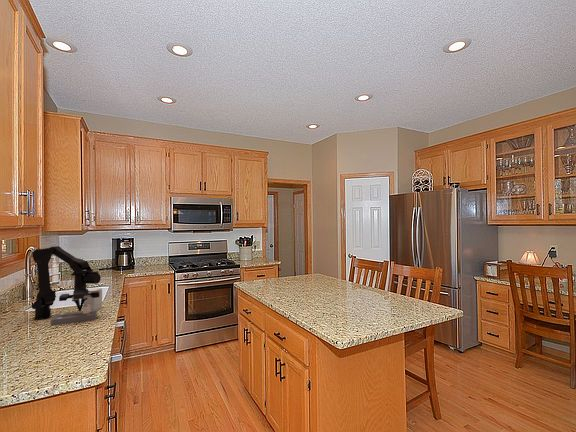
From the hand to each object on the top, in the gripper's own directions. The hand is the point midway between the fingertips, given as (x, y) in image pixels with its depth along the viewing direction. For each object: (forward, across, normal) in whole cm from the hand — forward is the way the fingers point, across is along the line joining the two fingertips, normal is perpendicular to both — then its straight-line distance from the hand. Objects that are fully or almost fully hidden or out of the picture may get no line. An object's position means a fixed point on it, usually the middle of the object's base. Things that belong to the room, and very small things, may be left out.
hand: (79, 311), depth 174 cm
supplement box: (+5, +5, +20) cm, 21 cm away
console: (+5, -2, 0) cm, 5 cm away
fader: (+1, +3, 0) cm, 3 cm away
